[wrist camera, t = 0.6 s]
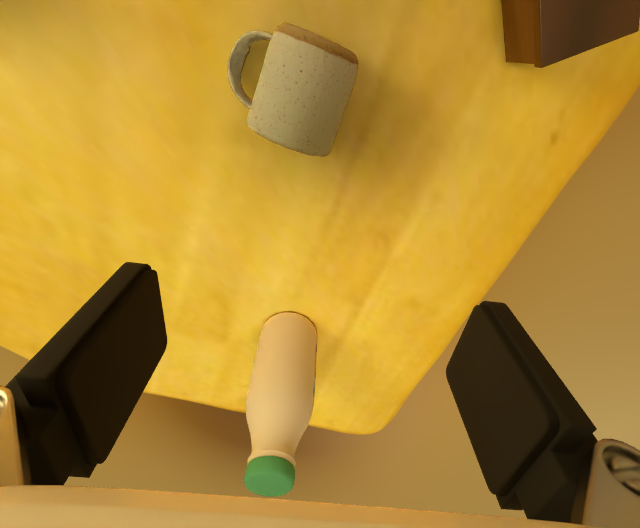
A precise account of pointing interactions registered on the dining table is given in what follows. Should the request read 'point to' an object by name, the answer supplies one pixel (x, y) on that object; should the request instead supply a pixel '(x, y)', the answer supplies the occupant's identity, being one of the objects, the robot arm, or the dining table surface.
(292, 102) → the ceramic mug
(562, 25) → the tea box
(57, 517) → the robot arm
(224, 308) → the dining table surface
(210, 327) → the dining table surface
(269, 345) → the milk bottle
